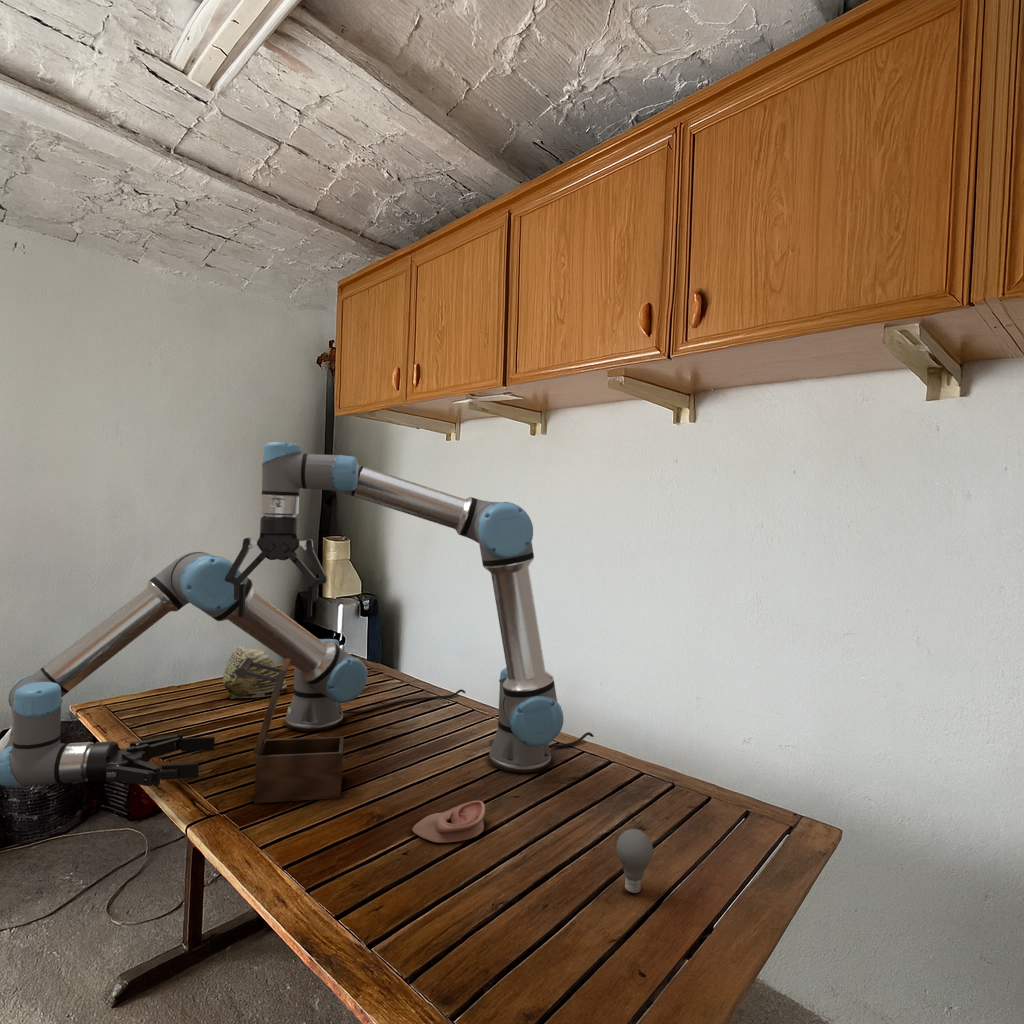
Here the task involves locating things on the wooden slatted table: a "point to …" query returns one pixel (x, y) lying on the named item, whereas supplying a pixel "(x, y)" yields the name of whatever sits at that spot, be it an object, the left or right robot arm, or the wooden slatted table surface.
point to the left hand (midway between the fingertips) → (206, 756)
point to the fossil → (249, 684)
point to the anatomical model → (453, 823)
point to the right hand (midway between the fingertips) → (275, 616)
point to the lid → (244, 670)
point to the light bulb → (634, 857)
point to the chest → (299, 769)
